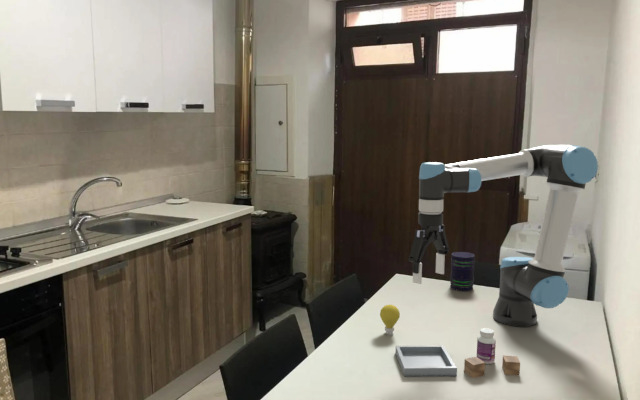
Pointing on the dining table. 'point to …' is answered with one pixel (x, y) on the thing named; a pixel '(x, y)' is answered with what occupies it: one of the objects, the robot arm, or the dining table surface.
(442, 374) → the tray
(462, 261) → the storage jar
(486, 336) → the pill bottle
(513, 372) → the walnut block
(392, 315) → the light bulb
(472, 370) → the walnut block
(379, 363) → the dining table surface
